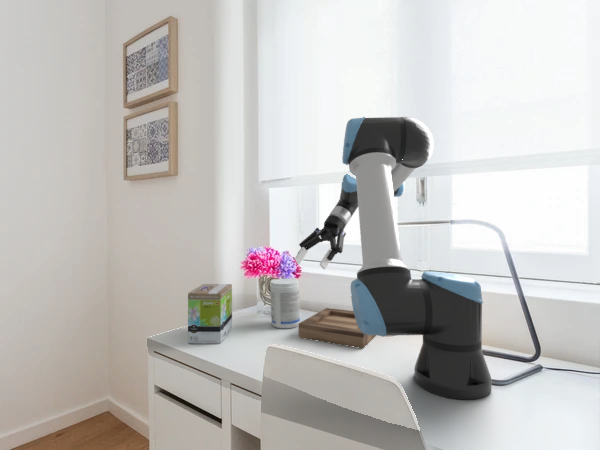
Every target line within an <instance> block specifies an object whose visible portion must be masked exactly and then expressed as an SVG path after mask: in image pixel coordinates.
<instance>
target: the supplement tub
mask: <svg viewBox="0 0 600 450" xmlns="http://www.w3.org/2000/svg"><path fill="white" fill-rule="evenodd" d="M269 291H270V313H271V315H270V316H271V326H273V327H274V328H277V329H293V328H295V327H299V323H301V307H300V285H299V280H298V279H294V278H279V279H273V280H271V281H270V290H269Z"/></svg>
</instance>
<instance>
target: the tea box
mask: <svg viewBox="0 0 600 450" xmlns="http://www.w3.org/2000/svg"><path fill="white" fill-rule="evenodd" d="M232 286H233V285H232V284H231V283H224V284H223V283H221V284H220V283H210V284H209V283H206V284H205V283H203V284H201V285H200V286H198V287H196V288H195V289H193V290H191V291H189V292H188V293H187V343H188V344H195V345H197V344H202V345H203V344H204V345H205V344H207V345H208V344H209V345H210V344H221V343H222V341H224V338H226V336H227V334H229V332H230V331H231V329H232V328H233V287H232Z"/></svg>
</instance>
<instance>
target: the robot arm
mask: <svg viewBox="0 0 600 450" xmlns="http://www.w3.org/2000/svg"><path fill="white" fill-rule="evenodd" d="M343 139H344V140H343V147H342V150H343V151H342V157H341V158H342V159H341V161H342V164H343V165H346V166H349V167H348V168H349V172H351V173H352V174H353V175H355V176H356V179H355V178H353V177H351V176H350V175H348V174H346V173H345V174H346V175H345V174H344V176H343V178H342V181H343V182H341V188H340V189H341V190H340V196H339V200H338V202H337V203H336V204H335V206H334V207H333V209H332V210H331V211H330V213H329V215H328V216H327V217H326V219H325V221H324V222H323V228H322V229H320V228H319V227H316V228H315V229H314V231H313V232H311V234H310V235H308V236H307V237H306V238H305V239H303V240H302V241H301V242H299V244H298V245H299V247H300V249H299V251H298V252H297V254H296V256H295V257H294V259H295V260H296V262H297V264H298V265H297V264H296V265H297V266H300V265H301V262H302V261H303V260H304V258H305V257H306V256H307V254H308V250H310V249H311V248H313V247H314V246H316V245H318V244H319V243H323V242H330V243H329V244H330V248H329V249H328V250H327V251H326V253H325V255H324V256H323V258H322V259H321V261H320V263H319V266H320V267H321V268H322V269H323V270H326V269H327V267H328V266H329V264H330V262H331V261H333V259H334V258H335V256H336V255H337V254H338V253H339V254H342V253H343V249H344V241H345V237H346V235H347V233H346V231H344V230H345V228H346V226H347V224H348V223H349V221H350V220H351V218H352V216H353V215H354V213H355V212H356V211H357V209H358V219H359V231H360V243H361V254H362V255H361V256H362V266H361V268H360V269H359V270H357V272H356V279H354V280H352V281H351V283H350V295H351V296H350V297H351V299H350V300H351V305H352V311H354V315H355V319H356V322H357V325H358V327H359V329H360V330H361V331H362V332H363V333H364V334H366V335H377V336H378V337H379V336H380V337H387V336H422V345H421V348H420V350H419V353H418V356H417V359H416V362H415V365H414V380H415V382H416V383H417V385H419V386H420V387H421V388H422V389H424V390H425V391H428V392H430V393H432V394H434V395H439V396H442V397H446V398H449V399H456V400H476V399H480V398H481V399H482V398H484V397H487V396H488V395H489V394H490V393H491V391H492V376H491V373H490V370H489V367H488V364H487V361H486V359H485V356H484V353H483V345H482V339H483V336H482V335H483V332H482V331H483V328H482V327H483V304H484V302H483V297H482V287H481V285H480V283H479V282H478V281H477V280H476V279H473V278H471V277H467V276H463V275H459V274H454V273H449V272H442V271H441V272H440V271H423V272H422V275H421V276H420V277H421V278H420V279H416V278H415V279H414V278H412V275H411V269H410V268H409V267H408V266H406V265H405V264H404V263H403V261H402V260H403V259H402V251H401V244H400V237H399V236H400V235H399V228H398V220H397V212H396V211H397V210H396V204H395V198H396V197H397V198H398V197H402V196H403V194H404V191H405V181H406V180H407V179H408V178H409V177H410V176H411V175H412V173H413V172H414V171H415V169H419V168H421V167H422V166H424V165H425V164H426V163H427V161H429V159H431V156H432V154H433V152H434V151H433V150H434V138H433V135H432V132H431V131H430V130H429V128H428V127H427V125H425V124H424V122H422V121H420V120H418V119H415V118H414V117H409V116H398V117H396V116H395V117H394V116H391V117H390V116H386V117H384V116H383V117H366V116H363V117H354V118H351V119H348V121H347V123H346V126H345V131H344V138H343ZM402 159H403V160H402Z"/></svg>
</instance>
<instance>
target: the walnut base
mask: <svg viewBox="0 0 600 450" xmlns="http://www.w3.org/2000/svg"><path fill="white" fill-rule="evenodd" d="M375 336H376V337H377V336H378V335H366V334H364V333H363V332H362V331H361V330H360V329H359V327H358V325H357V322H356V319H355V315H354V311H353V310H345V309H339V308H338V309H337V308H331V307H330V308H329V307H325V308H324V309H322V310H321V311H318V312H317V313H315V314H313V315H312V316H309V317H308V318H306V319H305V320H302V321H300V323H299V325H298V338H299V337H300V339H304V338H306V339H305V340H310V339H312V340H311V341H315V340H318V341H317V342H321V341H324V342H323V343H327V342H330V343H329V344H333V343H335V344H334V345H338V344H341V345H340V346H344V345H348V346H347V347H350V346H354V347H353V348H356V347H359V348H358V349H362V348H364V347H365V346H366V345H367V344H368V343H369V342H370V341H371V340H372V339H373V338H374V337H375ZM376 337H375V338H376ZM375 338H374V339H375ZM372 341H373V340H372ZM372 341H371V342H372ZM371 342H370V343H371ZM370 343H369V344H370ZM369 344H368V345H369ZM368 345H367V346H368ZM367 346H366V347H367ZM366 347H365V348H366ZM365 348H364V349H365Z"/></svg>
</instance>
